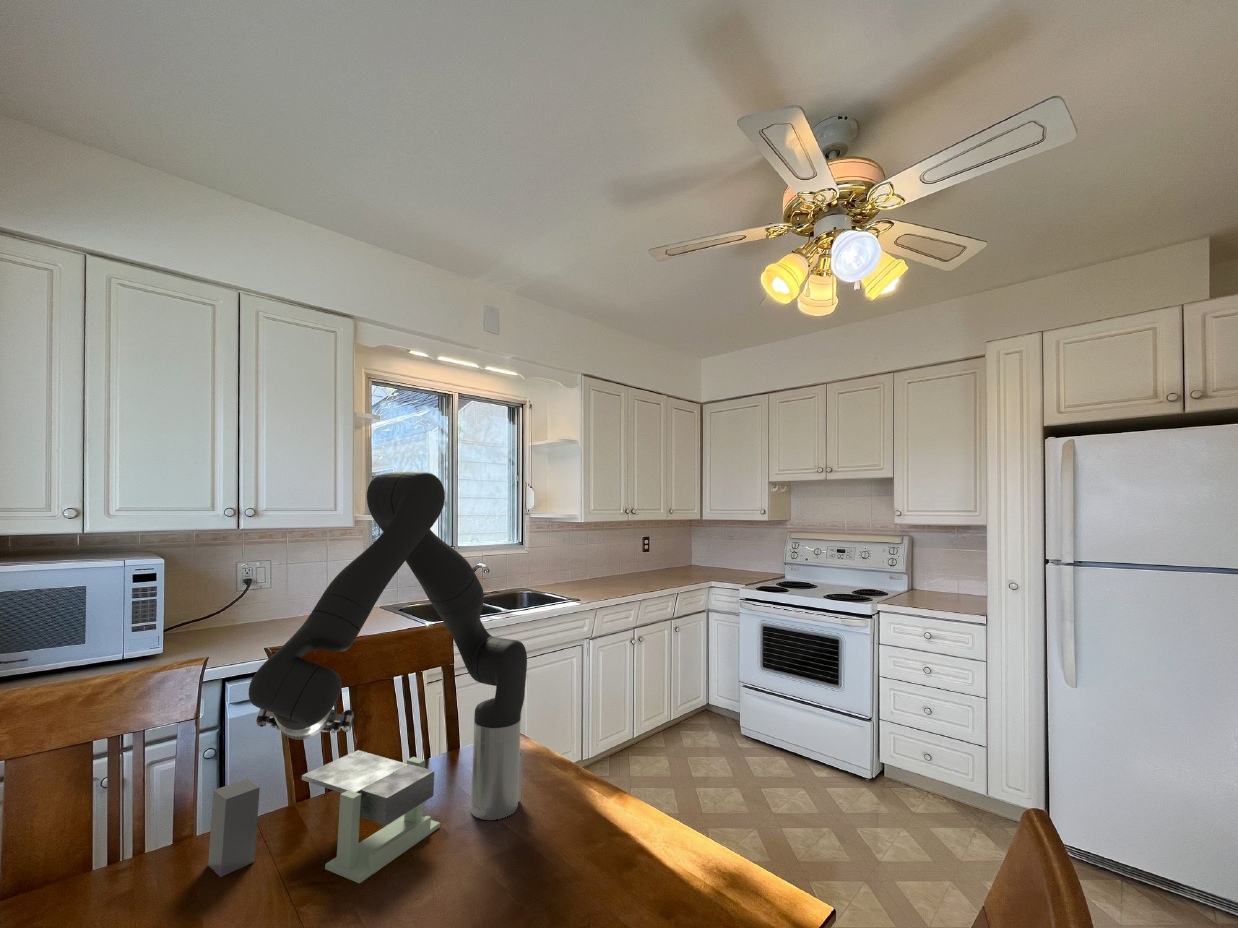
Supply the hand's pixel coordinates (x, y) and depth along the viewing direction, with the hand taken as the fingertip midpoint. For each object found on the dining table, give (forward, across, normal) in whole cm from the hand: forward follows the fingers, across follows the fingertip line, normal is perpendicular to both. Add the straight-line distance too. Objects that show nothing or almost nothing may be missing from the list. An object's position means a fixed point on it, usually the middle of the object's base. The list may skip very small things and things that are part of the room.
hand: (308, 724), depth 100 cm
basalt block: (+10, +6, +20) cm, 24 cm away
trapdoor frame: (+6, -16, +18) cm, 25 cm away
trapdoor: (+6, -13, +10) cm, 17 cm away
